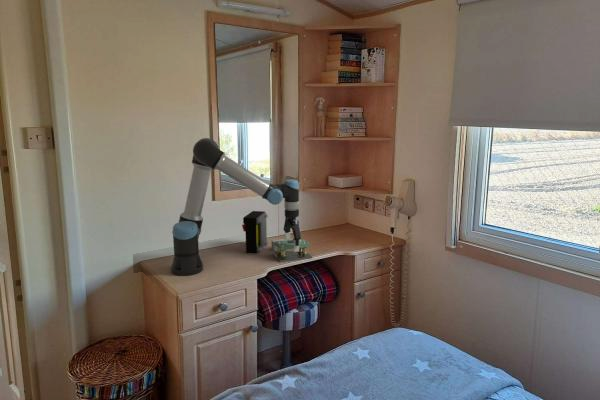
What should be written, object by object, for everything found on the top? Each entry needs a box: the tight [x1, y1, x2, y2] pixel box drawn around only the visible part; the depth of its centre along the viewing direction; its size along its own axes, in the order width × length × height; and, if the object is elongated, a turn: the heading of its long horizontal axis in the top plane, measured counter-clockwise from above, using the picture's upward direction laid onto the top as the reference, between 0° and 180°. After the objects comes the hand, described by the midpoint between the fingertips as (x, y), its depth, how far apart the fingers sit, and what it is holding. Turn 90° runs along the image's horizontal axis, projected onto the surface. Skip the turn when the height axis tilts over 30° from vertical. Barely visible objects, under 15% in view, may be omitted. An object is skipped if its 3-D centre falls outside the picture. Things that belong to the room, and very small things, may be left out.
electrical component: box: [241, 210, 269, 255], centre depth 246 cm, size 18×10×20 cm, turn 168°
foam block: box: [271, 237, 293, 252], centre depth 247 cm, size 12×5×5 cm, turn 111°
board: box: [275, 237, 310, 251], centre depth 232 cm, size 16×10×3 cm, turn 111°
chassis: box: [272, 238, 313, 263], centre depth 233 cm, size 18×13×8 cm
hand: (292, 247), depth 233 cm, fingers open, 13 cm apart
